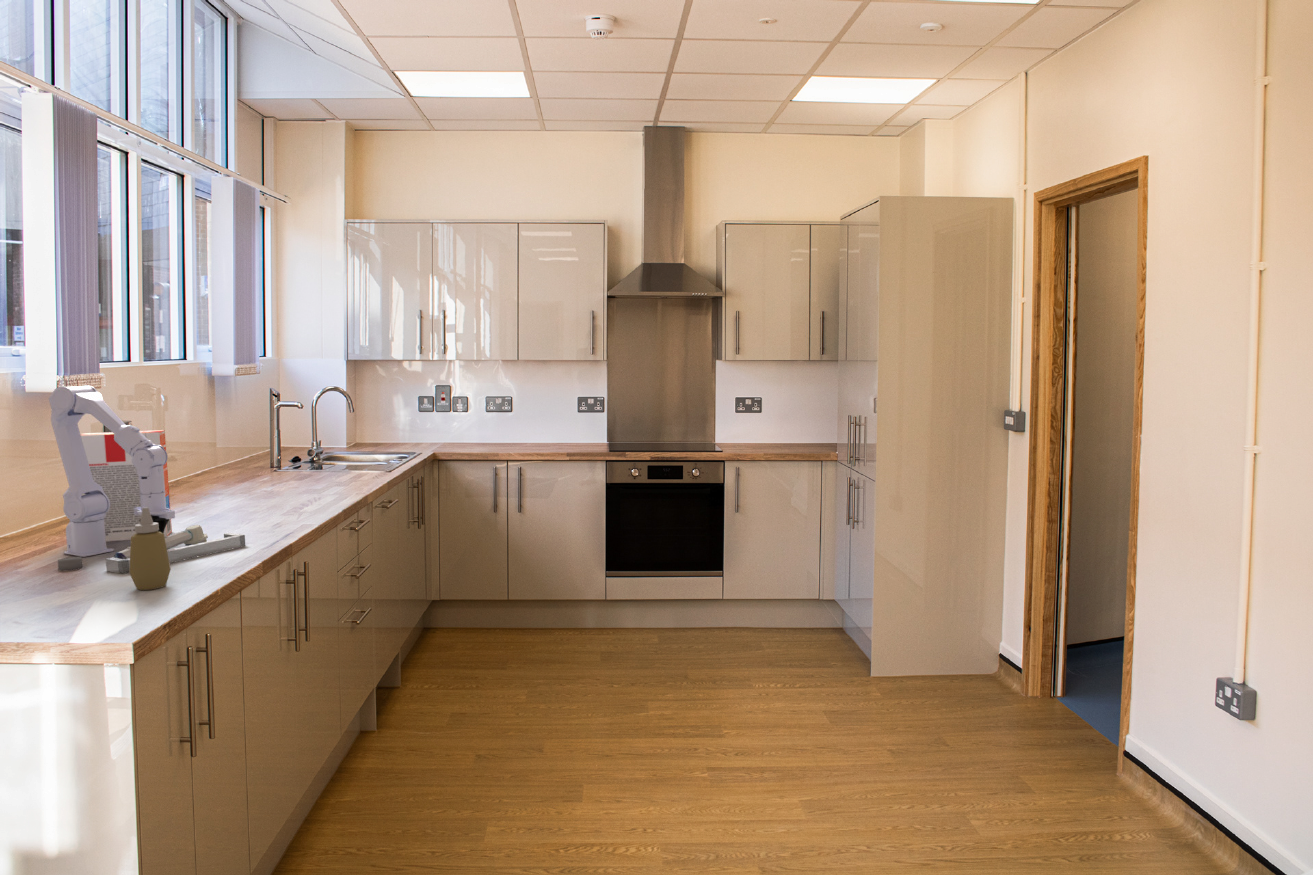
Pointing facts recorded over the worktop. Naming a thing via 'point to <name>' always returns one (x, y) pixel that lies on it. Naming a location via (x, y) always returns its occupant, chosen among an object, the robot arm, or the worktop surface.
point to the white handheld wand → (175, 540)
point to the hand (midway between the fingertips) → (156, 544)
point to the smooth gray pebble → (70, 563)
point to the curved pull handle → (184, 552)
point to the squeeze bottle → (148, 555)
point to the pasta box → (120, 481)
